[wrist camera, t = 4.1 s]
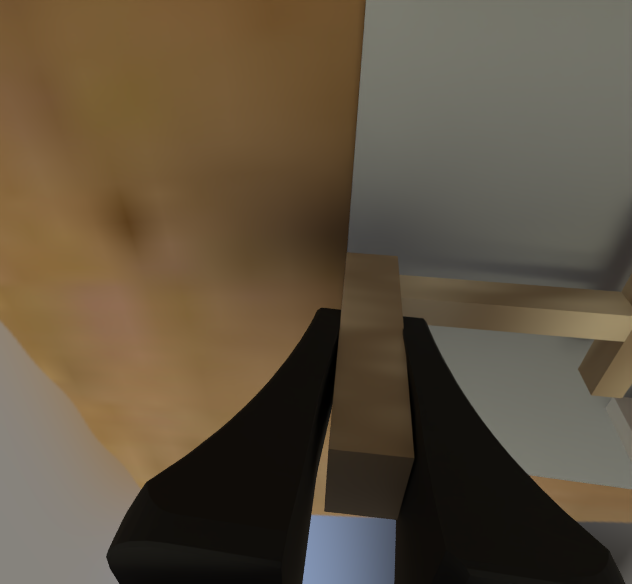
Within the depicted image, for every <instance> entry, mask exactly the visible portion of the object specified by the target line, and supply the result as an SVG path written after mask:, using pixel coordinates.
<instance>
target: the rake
mask: <svg viewBox="0 0 632 584" xmlns="http://www.w3.org/2000/svg"><path fill="white" fill-rule="evenodd" d="M403 316H406V317H416V318H424V320H425V321H426V322H427V324H428V325H432V326H444V327H456V328H467V329H479V330H491V331H503V332H515V333H526V334H538V335H550V336H562V337H574V338H585V339H594V341H593V343H592V345H591V347H590V348H589V350H588V352H587V354H586V356H585V357H584V359H583V361H582V363H581V364H580V366H579V368H578V370H579V372H580V374H581V376H582V378H583V380H584V382H585V384H586V386H587V388H588V390H589V392H590V394H591V395H592V396H602V397H613V398H622V397H623V396H624V395H625V393H626V392H627V390H628V389H629V387H630V386H631V384H632V274H631V275H630V277H629V279H628V281H627V282H626V284H625V286H624V288H623V290H622V291H621V292H617V291H604V290H591V289H578V288H565V287H552V286H539V285H526V284H513V283H500V282H487V281H474V280H461V279H448V278H435V277H422V276H409V275H399V264H398V256H390V255H376V254H363V253H349V252H347V255H346V266H345V277H344V287H343V298H342V309H341V320H340V331H339V341H338V352H337V363H336V374H335V385H334V396H333V406H332V417H331V428H330V439H329V450H328V465H327V480H326V494H325V509H324V511H325V512H334V513H342V514H351V515H360V516H368V517H377V518H386V519H394V520H397V518H398V515H399V511H400V508H401V504H402V501H403V497H404V493H405V490H406V486H407V483H408V479H409V476H410V472H411V469H412V465H413V461H414V447H413V434H412V422H411V410H410V398H409V386H408V374H407V362H406V352H405V345H404V339H403V329H404V325H403Z"/></svg>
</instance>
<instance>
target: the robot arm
mask: <svg viewBox="0 0 632 584" xmlns="http://www.w3.org/2000/svg"><path fill="white" fill-rule="evenodd" d="M340 320H341V310H339V309H329V308H320V309H319V310H317V312H316V314H315V316H314V318H313V320H312V322H311V324H310V326H309V327H308V329H307V331H306V332H305V334H304V335H303V337H302V339H301V340H300V342H299V343H298V344H297V346H296V347H295V349H294V350H293V352H292V353H291V354H290V356H289V357H288V358H287V360H286V361H285V362H284V364H283V365H282V366H281V367H280V368H279V370H278V371H277V372H276V373H275V375H274V376H273V377H272V378H271V379H270V381H269V382H268V383H267V384H266V385H265V386H264V387H263V388H262V390H261V391H260V392H259V393H258V394H257V395H256V396H255V397H254V398H253V399H252V400H251V401H250V402H249V403H248V404H247V405H246V406H245V407H244V408H243V409H242V410H241V411H240V412H238V413H237V414H236V415H235V416H234V417H233V418H232V419H231V420H230V421H229V422H228V423H226V424H225V425H224V426H223V427H222V428H221V429H219V430H218V431H217V432H216V433H214V434H213V435H212V436H211V437H209V438H208V439H207V440H205V441H204V442H203V443H202V444H200V445H199V446H198V447H197V448H195V449H194V450H193V451H191V452H190V453H189V454H187V455H186V456H185V457H183V458H182V459H180V460H179V461H177V462H176V463H174V464H173V465H171V466H170V467H168V468H167V469H165V470H164V471H162V472H161V473H159V474H158V475H156V476H155V477H153V478H152V479H150V480H149V481H147V482H146V484H145V485H144V486H143V488H142V489H141V491H140V492H139V494H138V496H137V497H136V499H135V500H134V502H133V503H132V505H131V507H130V508H129V510H128V511H127V513H126V515H125V517H124V519H123V520H122V522H121V525H120V527H119V529H118V531H117V533H116V535H115V537H114V539H113V541H112V544H111V545H110V548H109V550H108V553H107V556H106V558H107V561H108V564H109V567H110V569H111V571H112V573H113V574H114V576H115V577H116V579H117V581H118V582H119V584H302V581H303V573H304V566H305V557H306V550H307V543H308V535H309V527H310V520H311V512H312V505H313V498H314V490H315V483H316V477H317V471H318V466H319V461H320V457H321V453H322V448H323V444H324V439H325V435H326V431H327V426H328V422H329V418H330V413H331V409H332V405H333V396H334V385H335V374H336V363H337V352H338V341H339V331H340ZM403 325H404V329H403V339H404V345H405V352H406V362H407V374H408V386H409V398H410V410H411V422H412V434H413V447H414V461H413V465H412V469H411V472H410V476H409V479H408V483H407V486H406V490H405V493H404V497H403V501H402V504H401V508H400V511H399V515H398V518H397V520H396V546H395V547H396V548H395V582H394V584H625V582H624V580H623V578H622V576H621V573H620V571H619V569H618V567H617V566H616V563H615V562H614V560H613V558H612V555H611V553H610V551H609V550H608V549H607V548H605V546H603V545H602V544H601V543H600V542H599V541H598V540H596V539H595V538H594V537H593V536H592V535H591V534H590V533H588V532H587V531H586V530H585V529H584V528H583V527H582V526H581V525H579V524H578V523H577V522H576V521H575V520H574V519H573V518H571V517H570V516H569V515H568V514H567V513H566V512H565V511H564V510H563V509H562V508H560V507H559V506H558V505H557V504H556V503H555V502H554V501H553V500H552V499H551V498H550V497H549V496H548V495H547V494H546V493H545V492H544V491H543V490H542V489H541V488H540V487H539V486H538V485H537V484H536V483H535V482H534V480H533V479H532V478H531V477H530V476H529V475H528V474H527V473H526V472H525V471H524V470H523V469H522V467H521V466H520V465H519V464H518V463H517V462H516V461H515V460H514V459H513V458H512V457H511V455H510V454H509V453H508V452H507V451H506V449H505V448H504V447H503V446H502V445H501V443H500V442H499V441H498V440H497V439H496V437H495V436H494V435H493V434H492V432H491V431H490V430H489V428H488V427H487V426H486V424H485V423H484V422H483V420H482V419H481V418H480V416H479V415H478V414H477V412H476V411H475V409H474V408H473V406H472V405H471V403H470V402H469V400H468V399H467V397H466V396H465V394H464V393H463V391H462V390H461V388H460V386H459V385H458V383H457V381H456V380H455V378H454V376H453V374H452V373H451V371H450V369H449V367H448V366H447V364H446V362H445V360H444V358H443V357H442V355H441V353H440V351H439V349H438V347H437V345H436V343H435V340H434V338H433V336H432V334H431V332H430V329H429V327H428V324H427V322H426V321H425V320H424V318H416V317H406V316H403Z"/></svg>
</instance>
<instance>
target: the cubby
mask: <svg viewBox="0 0 632 584" xmlns="http://www.w3.org/2000/svg"><path fill="white" fill-rule="evenodd" d="M347 252H349V253H363V254H376V255H390V256H398V264H399V275H409V276H422V277H435V278H448V279H461V280H474V281H487V282H500V283H513V284H526V285H539V286H552V287H565V288H578V289H591V290H604V291H617V292H621V291H622V290H623V288H624V286H625V284H626V282H627V281H628V279H629V277H630V275H631V274H632V0H366V9H365V23H364V36H363V49H362V62H361V75H360V89H359V102H358V115H357V128H356V142H355V155H354V168H353V181H352V194H351V208H350V221H349V234H348V247H347ZM428 327H429V329H430V332H431V334H432V336H433V338H434V340H435V343H436V345H437V347H438V349H439V351H440V353H441V355H442V357H443V358H444V360H445V362H446V364H447V366H448V367H449V369H450V371H451V373H452V374H453V376H454V378H455V380H456V381H457V383H458V385H459V386H460V388H461V390H462V391H463V393H464V394H465V396H466V397H467V399H468V400H469V402H470V403H471V405H472V406H473V408H474V409H475V411H476V412H477V414H478V415H479V416H480V418H481V419H482V420H483V422H484V423H485V424H486V426H487V427H488V428H489V430H490V431H491V432H492V434H493V435H494V436H495V437H496V439H497V440H498V441H499V442H500V443H501V445H502V446H503V447H504V448H505V449H506V451H507V452H508V453H509V454H510V455H511V457H512V458H513V459H514V460H515V461H516V462H517V463H518V464H519V465H520V466H521V467H522V469H523V470H524V471H525V472H526V473H527V474H528V475H532V476H539V477H546V478H554V479H561V480H568V481H576V482H583V483H590V484H598V485H605V486H612V487H620V488H627V489H632V384H631V386H630V387H629V389H628V390H627V392H626V393H625V395H624V396H623V397H622V398H613V397H602V396H592V395H591V394H590V392H589V390H588V388H587V386H586V384H585V382H584V380H583V378H582V376H581V374H580V372H579V370H578V368H579V366H580V364H581V363H582V361H583V359H584V357H585V356H586V354H587V352H588V350H589V348H590V347H591V345H592V343H593V341H594V339H585V338H574V337H562V336H550V335H538V334H526V333H515V332H503V331H491V330H479V329H467V328H456V327H444V326H432V325H428Z"/></svg>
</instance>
